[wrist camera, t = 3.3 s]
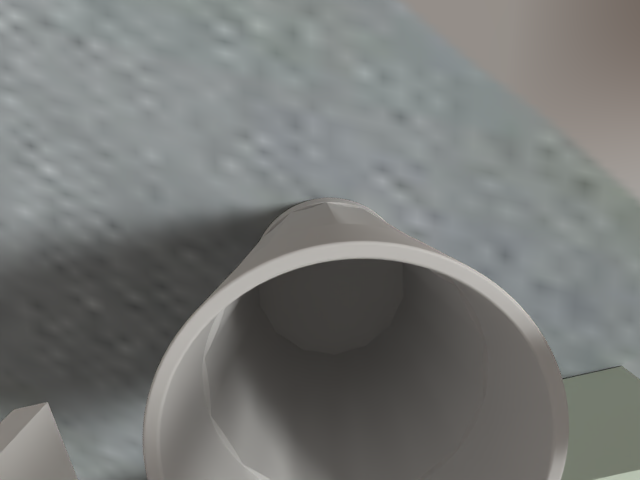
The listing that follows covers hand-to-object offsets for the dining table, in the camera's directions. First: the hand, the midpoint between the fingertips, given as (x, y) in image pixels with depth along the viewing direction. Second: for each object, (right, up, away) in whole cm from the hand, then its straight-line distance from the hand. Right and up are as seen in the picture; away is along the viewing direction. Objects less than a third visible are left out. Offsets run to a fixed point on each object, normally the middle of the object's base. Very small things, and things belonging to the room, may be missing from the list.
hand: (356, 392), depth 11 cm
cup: (0, +2, +10) cm, 11 cm away
